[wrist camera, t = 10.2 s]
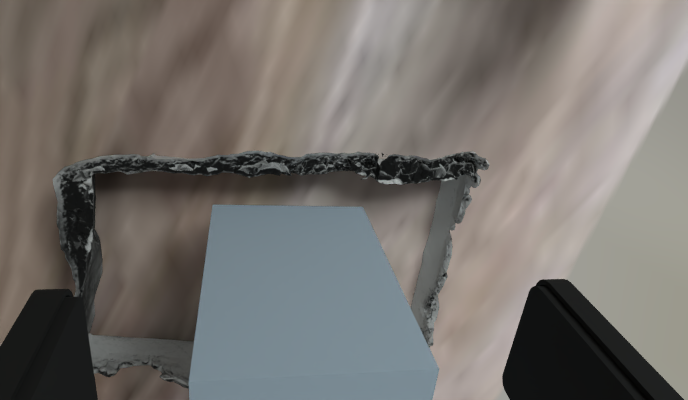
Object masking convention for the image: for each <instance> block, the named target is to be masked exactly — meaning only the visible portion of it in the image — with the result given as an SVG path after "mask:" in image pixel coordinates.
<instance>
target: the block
mask: <svg viewBox="0 0 688 400" xmlns="http://www.w3.org/2000/svg"><path fill="white" fill-rule="evenodd" d="M438 372H439V368H438V365H437V363H436V361H435V359H434V357H433V355H432V353H431V351H430V348H429V346H428V344H427V342H426V340H425V338H424V336H423V334H422V332H421V329H420V327H419V325H418V323H417V321H416V319H415V317H414V315H413V312H412V310H411V308H410V306H409V304H408V302H407V300H406V298H405V295H404V293H403V291H402V289H401V287H400V285H399V283H398V281H397V279H396V276H395V274H394V272H393V270H392V268H391V266H390V264H389V262H388V259H387V257H386V255H385V253H384V251H383V249H382V247H381V245H380V242H379V240H378V238H377V236H376V234H375V232H374V230H373V228H372V226H371V223H370V221H369V219H368V217H367V215H366V213H365V211H364V209H363V207H339V206H270V205H213V206H212V214H211V221H210V228H209V236H208V243H207V251H206V258H205V265H204V273H203V280H202V287H201V295H200V302H199V310H198V317H197V324H196V332H195V339H194V346H193V354H192V361H191V369H190V376H189V400H432V399H433V394H434V390H435V385H436V381H437V376H438Z"/></svg>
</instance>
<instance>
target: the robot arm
mask: <svg viewBox="0 0 688 400" xmlns="http://www.w3.org/2000/svg"><path fill="white" fill-rule="evenodd" d="M503 386H504V389H505V391H506V393H507V395H508V397H509V399H510V400H684V399H683V398H682V397H681V396H680V395H679V394H678V393H677V392H676V391H675V390H674V389H673V388H672V387H671V386H670V385H669V384H668V383H667V382H666V380H664V378H663V377H662V376H661V375H660V374H659V373H658V372H657V371H656V370H655V369H654V368H653V367H652V366H651V365H650V364H649V363H648V362H647V361H646V360H645V359H644V358H643V357H642V356H641V355H640V354H639V353H638V352H637V351H636V350H635V348H634V347H633V346H631V344H630V343H629V342H628V341H627V340H626V339H625V338H624V337H623V336H622V335H621V334H620V333H619V332H618V331H617V330H616V329H615V328H614V327H613V326H612V325H611V324H610V323H609V322H608V320H606V318H605V317H604V316H603V315H602V314H601V313H600V312H599V311H598V310H597V309H596V308H595V307H594V306H593V305H592V304H591V303H590V302H589V301H588V300H587V299H586V298H585V297H584V296H583V295H582V294H581V293H580V292H579V291H578V290H577V288H576V287H575V286H574V285H573V284H572V283H571V282H569V281H568V280H565V279H548V280H540V281H539V282H538V283H537V284H536V286H534V287H532V288H531V289H530V291H529V294H528V297H527V300H526V303H525V307H524V310H523V313H522V316H521V319H520V322H519V325H518V329H517V332H516V335H515V338H514V341H513V344H512V347H511V350H510V354H509V357H508V360H507V363H506V366H505V369H504V372H503ZM0 400H98V398H97V391H96V384H95V377H94V371H93V364H92V357H91V350H90V343H89V336H88V330H87V323H86V316H85V309H84V303H83V299H82V297H73V294H72V292H71V290H69V289H46V290H35V291H34V292H33V293H32V294H31V296H30V298H29V299H28V301H27V303H26V304H25V306H24V308H23V309H22V311H21V313H20V314H19V316H18V318H17V319H16V321H15V323H14V325H13V326H12V328H11V330H10V331H9V333H8V335H7V336H6V338H5V340H4V341H3V343H2V345H1V346H0Z"/></svg>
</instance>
